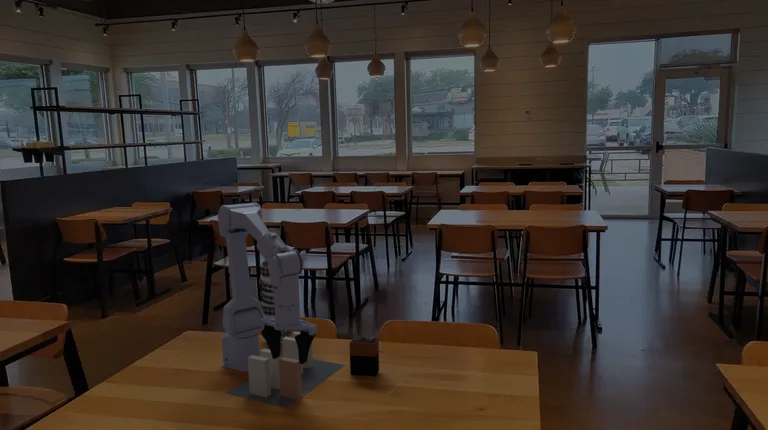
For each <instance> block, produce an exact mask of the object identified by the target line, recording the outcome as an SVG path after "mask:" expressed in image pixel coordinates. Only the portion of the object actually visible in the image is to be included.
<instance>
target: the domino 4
mask: <svg viewBox="0 0 768 430" xmlns="http://www.w3.org/2000/svg"><path fill="white" fill-rule="evenodd" d="M279 373H280V394H281V396H283V397H288V398H292V399H297V400H298V401H299V400H301V399H302V398H303V397H302V382H301V364H300V363H299V360H296V359H291V358H285V357H283V356H281V358H280V359H279ZM301 397H302V398H301Z"/></svg>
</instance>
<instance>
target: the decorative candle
mask: <svg viewBox="0 0 768 430" xmlns="http://www.w3.org/2000/svg"><path fill="white" fill-rule="evenodd" d="M259 266H260V278H259V280H258V284H259V285H258V288H259V290H260V291H259V295H260V297H259V299H260V300H261V301H260V300H259V301H260V302H261V305H262V310H263V312H264V316H265V317H273V318H275V305H274V285H272V283H271V277H270V273H269V270H268V262H267V261H266V260H265V259H264V260H263V261H262V263H260V264H259ZM264 328H265V327H264ZM264 328H262V330H261V331H263V330H264ZM291 336H292V331H289V330H282V331H281V339H280V344H282V338H284V337H291ZM262 338H263V339H262V342H263V344H267V342H266V340H265V339H264V337H263V336H262Z"/></svg>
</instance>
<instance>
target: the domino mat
mask: <svg viewBox="0 0 768 430" xmlns="http://www.w3.org/2000/svg"><path fill="white" fill-rule="evenodd" d="M345 366H346V364H342V363H336V362H331V361H327V360H326V361H325V360H321V359H314V358H313V366H312V367H311V368H304V367H303V373H302V374H301V382H302V397H301V398H300V399H302V398H303V397H305V395H307V394H308V393H310V392H311V391H312V390H314V389H315V388H317V387H318V386H320V384H322V383H323V382H324V381H326V380H327V379H328V378H330V377H331V376H332V375H334V374H336V372H338V371H340V369H342V368H344V367H345ZM225 394H227V395H232V396H236V397H240V398H243V399H248V400H252V401H256V402H261V403H264V404H265V403H266V404H269V405H273V406H278V407H282V408H286V409H288V408H290V407H291V406H293V405H294V404H295V403H296V402H298V401H299V400H297V399H292V398H288V397H283V396H281V394H280V389H273V388H271V395H270V396H268V397H263V396H258V395H254V394H250V388H249V378H248V379H247V380H244V382H242V383H240V384H238V385H237V386H235V387H234V388H231V389H230V390H229V391H227V392H225Z"/></svg>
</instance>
